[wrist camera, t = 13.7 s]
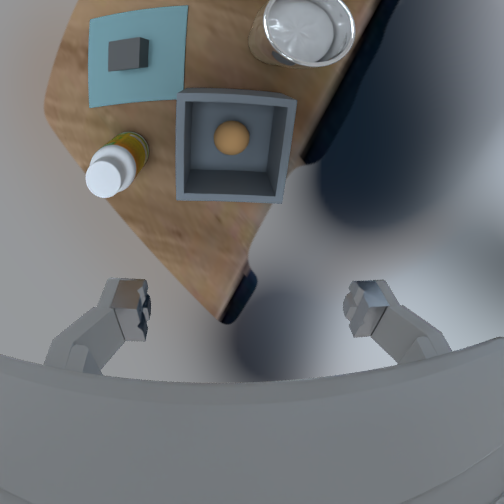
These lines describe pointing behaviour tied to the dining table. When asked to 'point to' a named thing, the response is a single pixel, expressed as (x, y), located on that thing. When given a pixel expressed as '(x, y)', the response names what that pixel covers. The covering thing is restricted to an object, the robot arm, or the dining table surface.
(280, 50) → the beer glass
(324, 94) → the dining table surface
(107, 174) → the supplement bottle
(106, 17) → the lid
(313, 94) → the dining table surface
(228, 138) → the orange ball
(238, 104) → the storage box
